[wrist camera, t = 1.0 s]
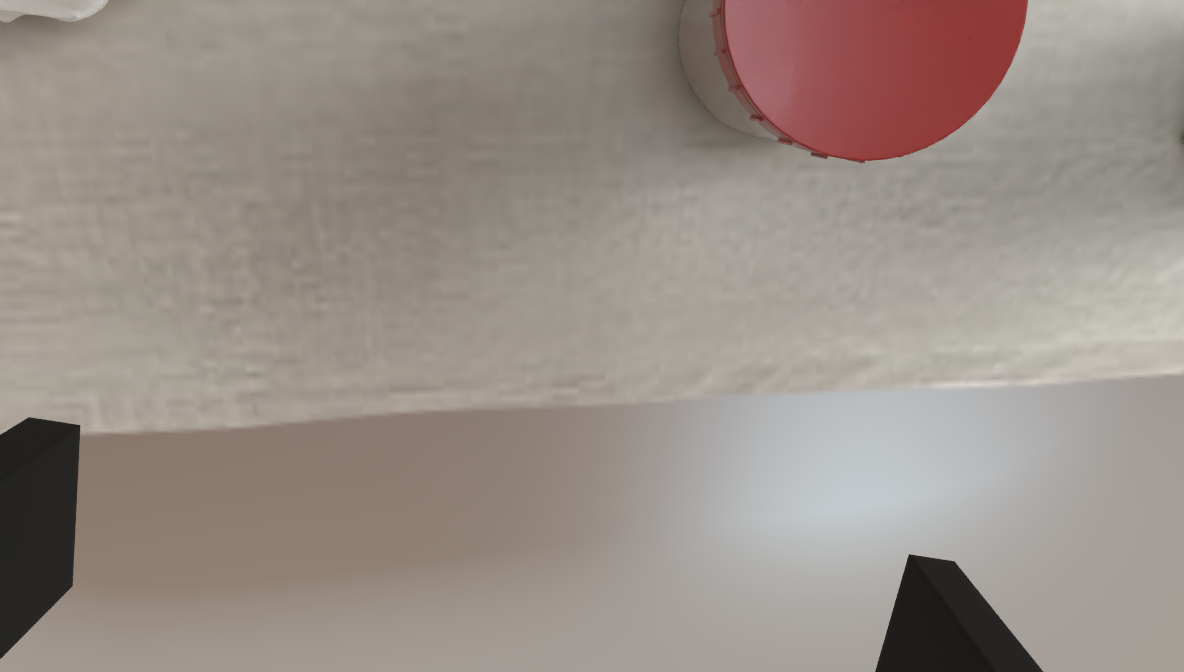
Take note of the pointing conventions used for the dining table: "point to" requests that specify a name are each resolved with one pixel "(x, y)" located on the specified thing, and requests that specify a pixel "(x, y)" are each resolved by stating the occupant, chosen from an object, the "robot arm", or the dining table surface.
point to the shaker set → (50, 9)
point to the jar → (710, 69)
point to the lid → (865, 68)
